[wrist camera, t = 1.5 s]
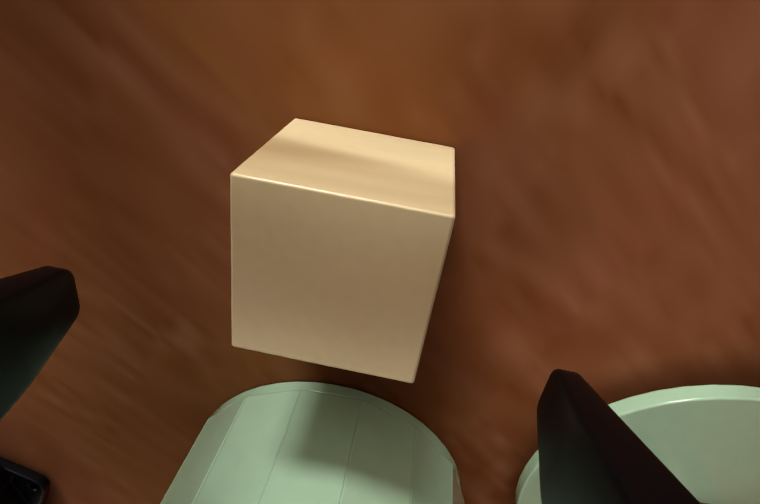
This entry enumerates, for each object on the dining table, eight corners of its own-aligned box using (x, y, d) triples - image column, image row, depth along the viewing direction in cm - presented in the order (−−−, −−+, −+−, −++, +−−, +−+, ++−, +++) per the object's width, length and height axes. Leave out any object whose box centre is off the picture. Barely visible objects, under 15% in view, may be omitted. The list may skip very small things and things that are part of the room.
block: (423, 283, 15) (413, 384, 11) (286, 256, 15) (230, 347, 11) (455, 147, 13) (456, 216, 9) (294, 117, 13) (228, 172, 9)
